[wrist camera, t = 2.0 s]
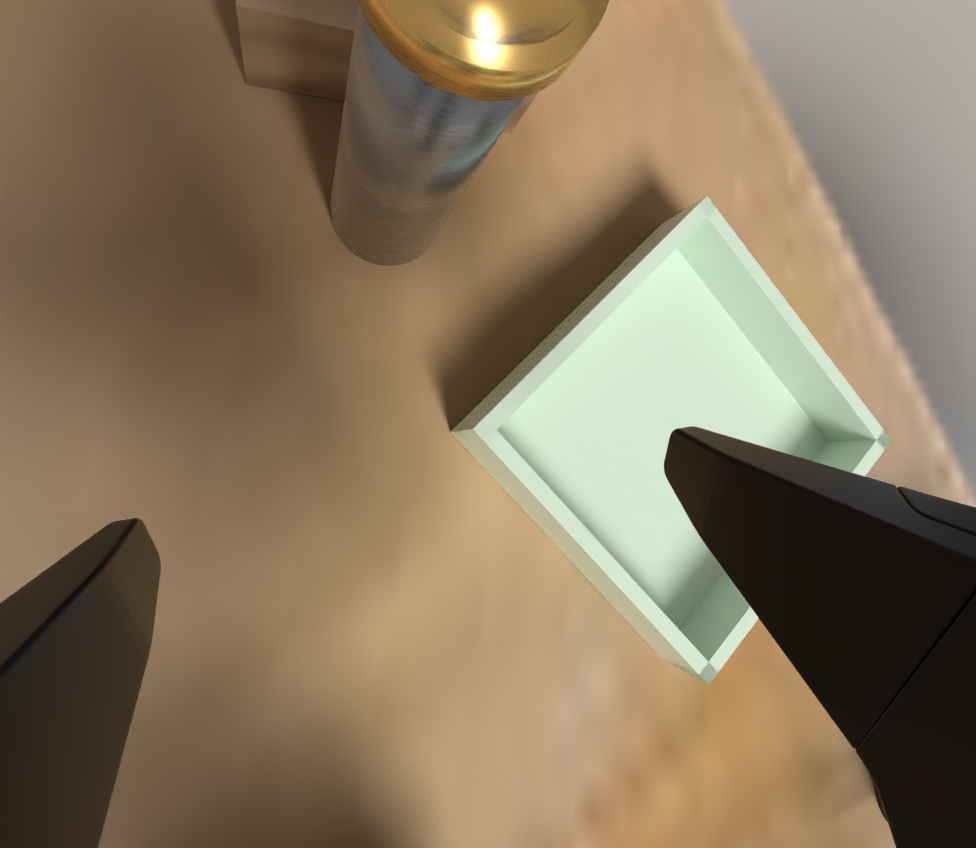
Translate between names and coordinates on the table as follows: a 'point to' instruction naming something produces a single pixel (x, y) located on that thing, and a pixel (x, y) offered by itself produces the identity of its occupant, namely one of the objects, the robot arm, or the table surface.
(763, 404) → the green tray
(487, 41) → the grey metal cylinder
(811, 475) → the robot arm
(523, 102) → the block
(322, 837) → the table surface
